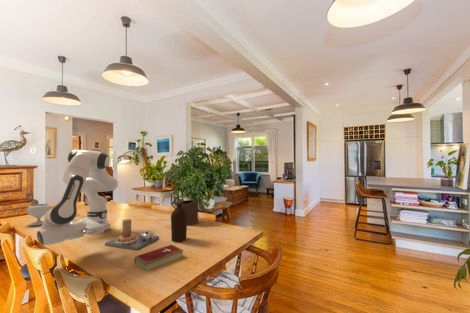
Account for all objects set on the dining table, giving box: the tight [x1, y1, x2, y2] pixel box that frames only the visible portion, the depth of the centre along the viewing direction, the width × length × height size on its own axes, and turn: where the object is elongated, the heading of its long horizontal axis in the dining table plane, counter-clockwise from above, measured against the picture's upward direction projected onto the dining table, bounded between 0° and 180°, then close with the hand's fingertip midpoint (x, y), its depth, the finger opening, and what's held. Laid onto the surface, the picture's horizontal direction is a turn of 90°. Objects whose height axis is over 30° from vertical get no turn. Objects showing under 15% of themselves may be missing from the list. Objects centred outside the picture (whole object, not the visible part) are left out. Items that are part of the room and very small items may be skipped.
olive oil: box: [170, 200, 188, 243], centre depth 141 cm, size 11×11×25 cm
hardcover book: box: [134, 244, 184, 271], centre depth 112 cm, size 12×21×4 cm, turn 139°
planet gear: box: [116, 218, 136, 243], centre depth 136 cm, size 11×11×12 cm
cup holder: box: [170, 192, 200, 227], centre depth 181 cm, size 18×24×25 cm
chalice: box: [26, 203, 51, 226], centre depth 175 cm, size 14×14×15 cm
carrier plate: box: [104, 231, 160, 251], centre depth 137 cm, size 24×20×6 cm
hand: (105, 223), depth 126 cm, fingers open, 8 cm apart
